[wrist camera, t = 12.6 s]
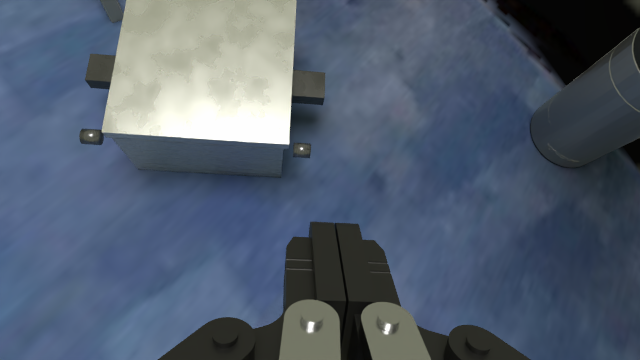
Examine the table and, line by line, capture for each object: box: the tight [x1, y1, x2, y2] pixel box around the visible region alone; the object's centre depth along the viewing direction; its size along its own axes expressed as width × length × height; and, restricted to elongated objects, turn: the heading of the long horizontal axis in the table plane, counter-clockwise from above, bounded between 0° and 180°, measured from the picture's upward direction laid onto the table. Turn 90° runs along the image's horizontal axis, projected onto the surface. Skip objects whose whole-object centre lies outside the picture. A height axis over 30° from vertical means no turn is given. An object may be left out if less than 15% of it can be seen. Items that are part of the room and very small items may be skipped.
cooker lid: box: [102, 0, 296, 149], centre depth 46 cm, size 20×17×1 cm
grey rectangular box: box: [80, 54, 325, 178], centre depth 49 cm, size 17×24×10 cm
